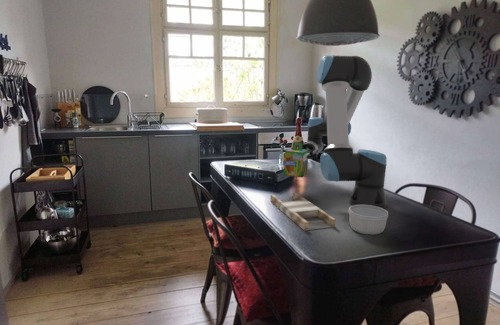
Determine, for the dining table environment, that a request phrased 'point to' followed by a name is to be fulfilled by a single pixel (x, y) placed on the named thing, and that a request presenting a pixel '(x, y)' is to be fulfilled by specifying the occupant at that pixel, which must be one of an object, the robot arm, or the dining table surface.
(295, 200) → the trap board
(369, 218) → the ramekin
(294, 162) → the chalk box
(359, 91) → the robot arm
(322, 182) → the dining table surface
